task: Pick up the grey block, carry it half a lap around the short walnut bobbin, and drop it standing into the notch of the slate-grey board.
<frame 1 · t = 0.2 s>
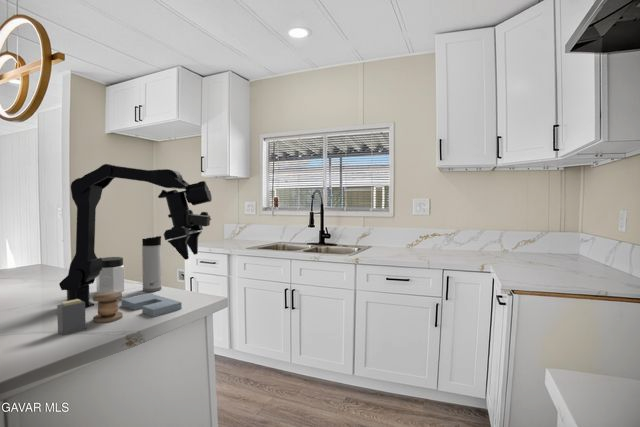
hand: (191, 256, 109), 15 cm above the counter, tool pointing down, fingers open, 9 cm apart
grey block: (71, 330, 87), on the counter
bobbin: (108, 318, 96), on the counter
travel mug: (152, 290, 127), on the counter
notched board: (151, 307, 107), on the counter
jar: (110, 292, 124), on the counter
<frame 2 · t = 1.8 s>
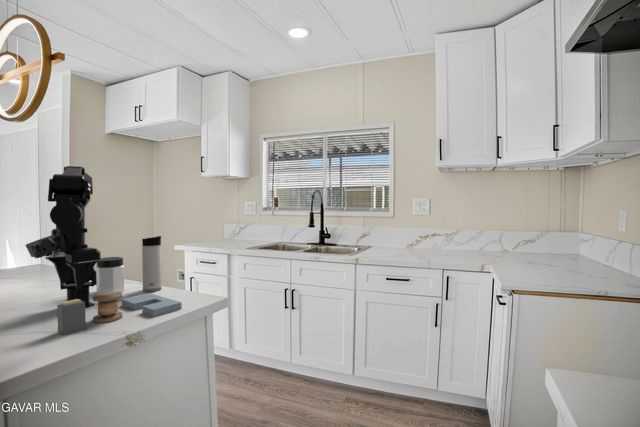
hand: (71, 286, 87), 11 cm above the counter, tool pointing down, fingers open, 9 cm apart
nothing on the counter moved.
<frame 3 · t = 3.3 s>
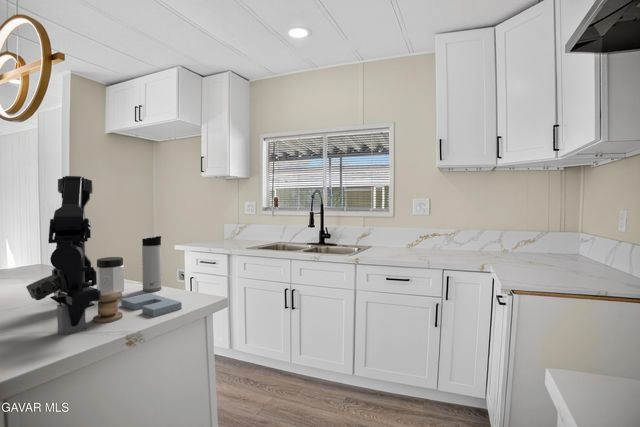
hand: (71, 324, 87), 2 cm above the counter, tool pointing down, fingers closed on grey block, 3 cm apart
grey block: (71, 330, 87), on the counter, touching gripper
everything else where it was.
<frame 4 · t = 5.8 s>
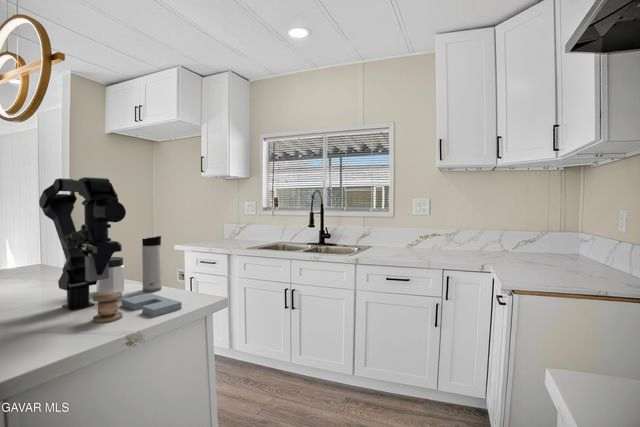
hand: (97, 274, 100), 11 cm above the counter, tool pointing down, fingers closed on grey block, 3 cm apart
grey block: (97, 279, 100), point 10 cm above the counter, touching gripper
everything else where it was.
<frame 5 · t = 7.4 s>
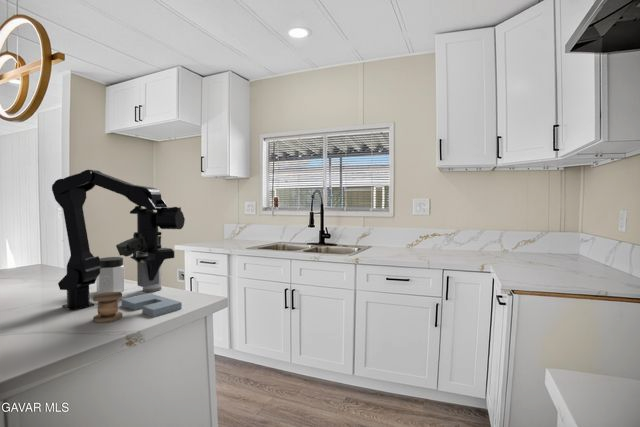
hand: (148, 279, 105), 9 cm above the counter, tool pointing down, fingers closed on grey block, 3 cm apart
grey block: (148, 284, 105), point 7 cm above the counter, touching gripper
everything else where it was.
when the fingers open (4 cm above the counter, at t = 8.5 s): grey block drops 2 cm, resting in notched board.
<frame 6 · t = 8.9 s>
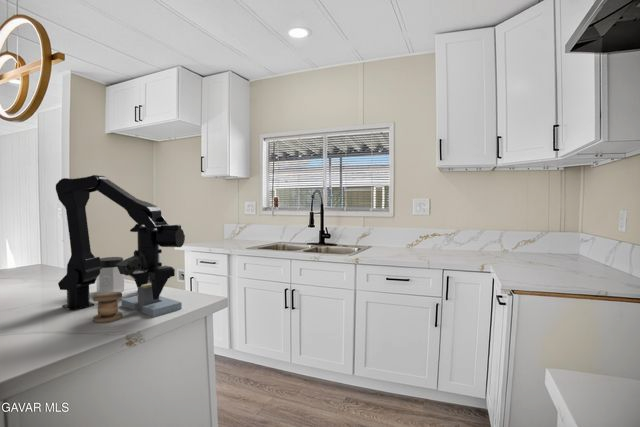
hand: (148, 297, 105), 3 cm above the counter, tool pointing down, fingers open, 7 cm apart
grey block: (148, 308, 105), resting in notched board
everything else where it was.
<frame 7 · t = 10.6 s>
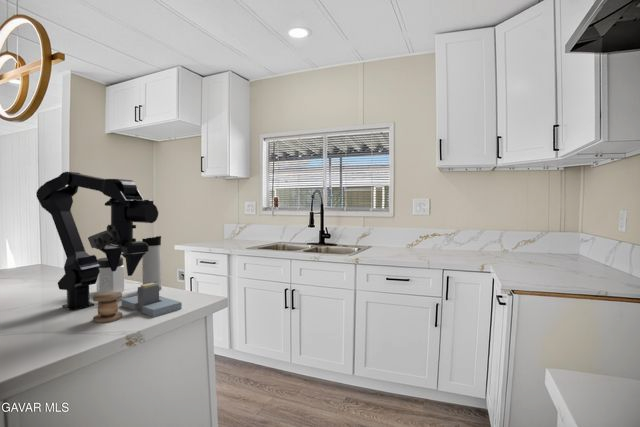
hand: (121, 273, 103), 11 cm above the counter, tool pointing down, fingers open, 9 cm apart
nothing on the counter moved.
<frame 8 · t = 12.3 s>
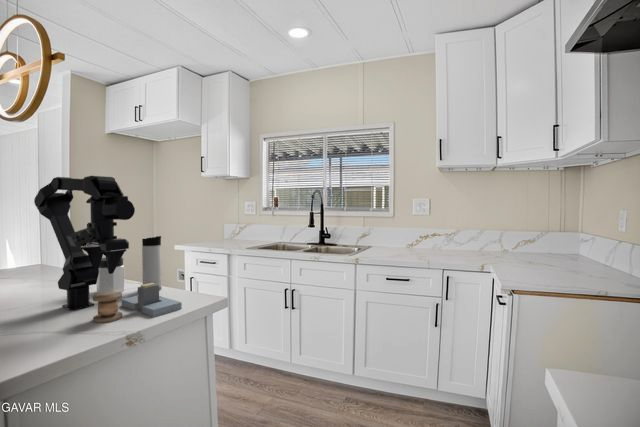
hand: (103, 271, 101), 12 cm above the counter, tool pointing down, fingers open, 9 cm apart
nothing on the counter moved.
at the end: grey block 0.1 cm from the target spot on the notched board, point 0.0 cm above the notched board's base; grey block tilted 0°; the gripper is holding nothing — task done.
